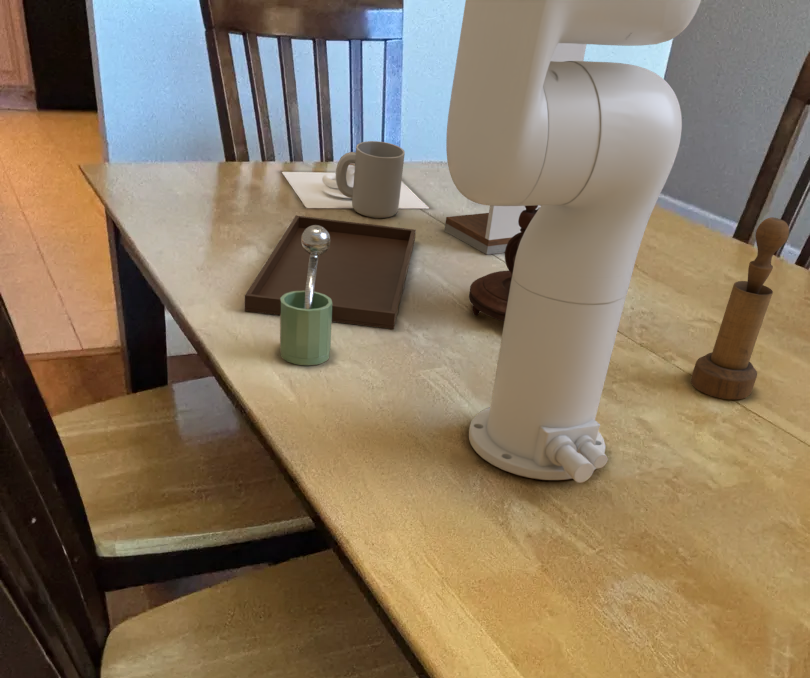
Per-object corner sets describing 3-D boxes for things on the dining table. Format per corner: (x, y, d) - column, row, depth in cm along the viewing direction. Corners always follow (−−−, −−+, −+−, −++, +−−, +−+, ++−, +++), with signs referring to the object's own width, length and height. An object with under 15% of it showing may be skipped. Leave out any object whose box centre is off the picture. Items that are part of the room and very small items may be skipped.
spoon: (315, 358, 90) (320, 246, 83) (287, 354, 90) (289, 243, 83) (328, 328, 97) (333, 223, 90) (301, 325, 97) (304, 220, 90)
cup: (395, 221, 132) (402, 161, 126) (330, 211, 132) (334, 150, 126) (399, 204, 138) (406, 145, 132) (337, 194, 137) (341, 135, 131)
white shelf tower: (504, 224, 136) (546, -45, 115) (548, 246, 129) (601, -35, 108) (444, 231, 130) (477, -50, 110) (486, 254, 124) (530, -41, 103)
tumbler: (336, 363, 91) (339, 308, 88) (288, 367, 89) (288, 312, 86) (321, 342, 95) (322, 288, 91) (273, 346, 93) (273, 292, 89)
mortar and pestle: (705, 367, 99) (758, 204, 88) (760, 387, 96) (821, 221, 85) (680, 385, 95) (732, 216, 84) (736, 406, 92) (798, 234, 81)
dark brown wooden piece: (558, 352, 99) (597, 166, 87) (445, 315, 104) (467, 136, 92) (604, 314, 109) (645, 143, 97) (499, 283, 115) (526, 118, 103)
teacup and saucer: (316, 185, 144) (317, 158, 141) (362, 185, 146) (364, 159, 143) (328, 201, 137) (329, 173, 135) (377, 201, 139) (379, 174, 137)
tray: (393, 329, 100) (395, 313, 98) (244, 311, 100) (244, 295, 99) (414, 243, 125) (415, 229, 124) (295, 228, 125) (295, 215, 124)
